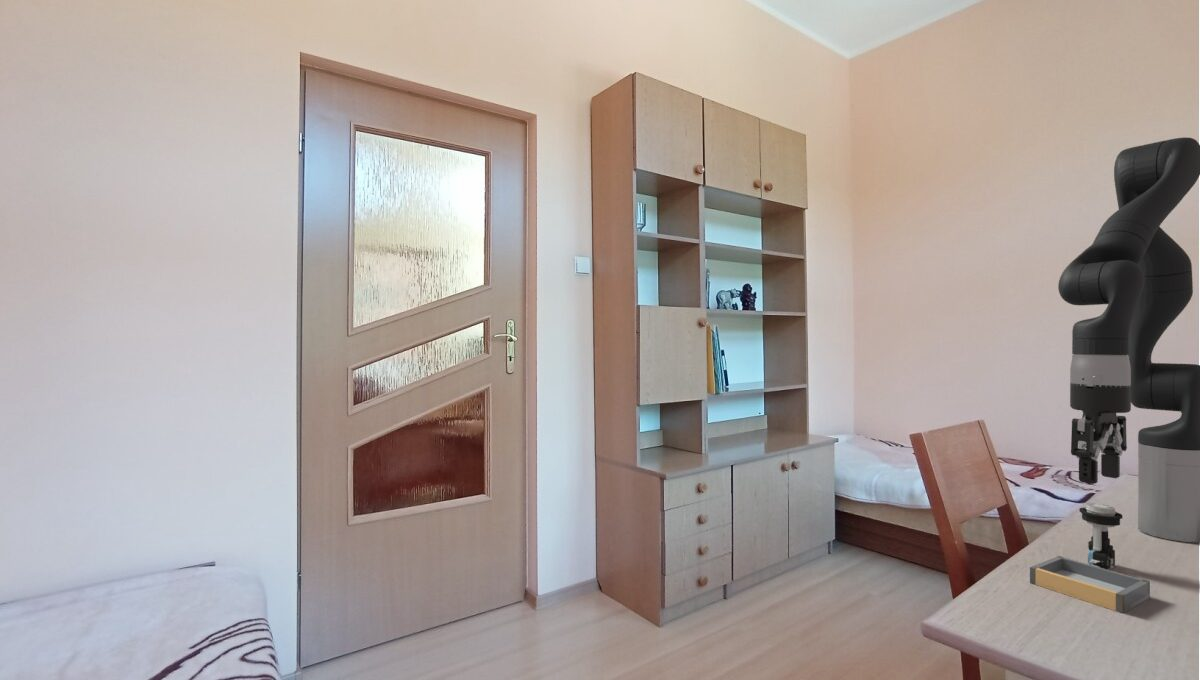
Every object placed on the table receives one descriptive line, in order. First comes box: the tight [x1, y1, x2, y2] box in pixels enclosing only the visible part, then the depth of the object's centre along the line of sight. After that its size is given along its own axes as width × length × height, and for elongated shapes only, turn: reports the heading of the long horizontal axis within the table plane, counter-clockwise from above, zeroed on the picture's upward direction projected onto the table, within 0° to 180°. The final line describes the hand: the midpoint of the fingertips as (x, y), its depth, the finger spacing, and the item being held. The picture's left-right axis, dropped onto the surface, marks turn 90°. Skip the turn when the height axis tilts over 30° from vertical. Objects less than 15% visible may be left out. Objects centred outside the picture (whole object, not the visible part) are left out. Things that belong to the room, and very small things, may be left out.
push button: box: [1078, 502, 1124, 570], centre depth 92 cm, size 7×5×10 cm
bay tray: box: [1029, 555, 1151, 614], centre depth 84 cm, size 10×11×2 cm
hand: (1099, 480), depth 92 cm, fingers open, 8 cm apart
